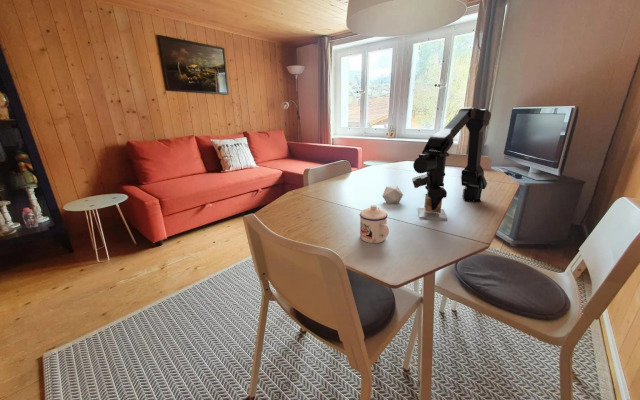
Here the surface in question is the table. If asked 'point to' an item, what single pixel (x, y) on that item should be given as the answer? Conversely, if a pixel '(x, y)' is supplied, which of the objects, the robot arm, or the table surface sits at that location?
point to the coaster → (432, 214)
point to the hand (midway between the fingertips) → (432, 207)
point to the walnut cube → (429, 208)
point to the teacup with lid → (373, 225)
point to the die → (392, 195)
